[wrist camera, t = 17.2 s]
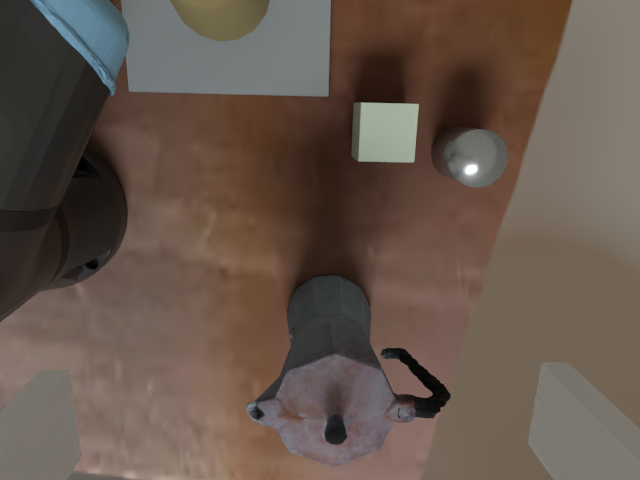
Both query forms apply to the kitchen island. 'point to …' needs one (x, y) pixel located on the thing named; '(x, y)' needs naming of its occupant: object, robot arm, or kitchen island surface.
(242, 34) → the squeeze bottle
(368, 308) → the moka pot
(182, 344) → the kitchen island surface
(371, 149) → the sage block
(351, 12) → the kitchen island surface
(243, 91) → the light grey rectangular plate
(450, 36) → the kitchen island surface
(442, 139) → the grey metal cylinder
